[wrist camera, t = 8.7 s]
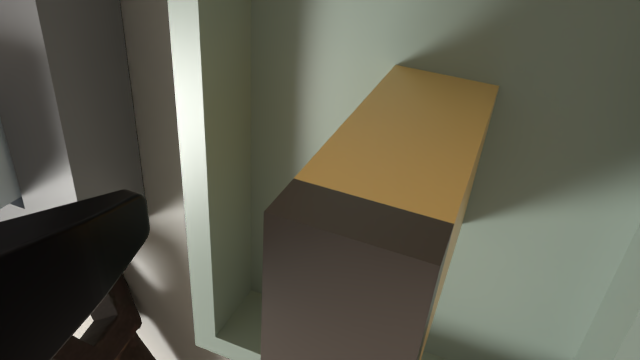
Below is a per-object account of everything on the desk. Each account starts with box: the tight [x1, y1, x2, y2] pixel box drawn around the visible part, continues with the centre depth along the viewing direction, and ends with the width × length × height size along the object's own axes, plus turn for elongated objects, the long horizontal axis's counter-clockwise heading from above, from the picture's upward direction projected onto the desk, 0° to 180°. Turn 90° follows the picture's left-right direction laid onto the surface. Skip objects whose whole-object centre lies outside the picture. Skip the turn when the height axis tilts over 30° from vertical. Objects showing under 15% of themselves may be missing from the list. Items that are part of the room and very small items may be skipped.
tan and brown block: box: [261, 65, 499, 360], centre depth 11 cm, size 2×4×7 cm, turn 176°
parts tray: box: [167, 0, 640, 360], centre depth 13 cm, size 12×16×3 cm
